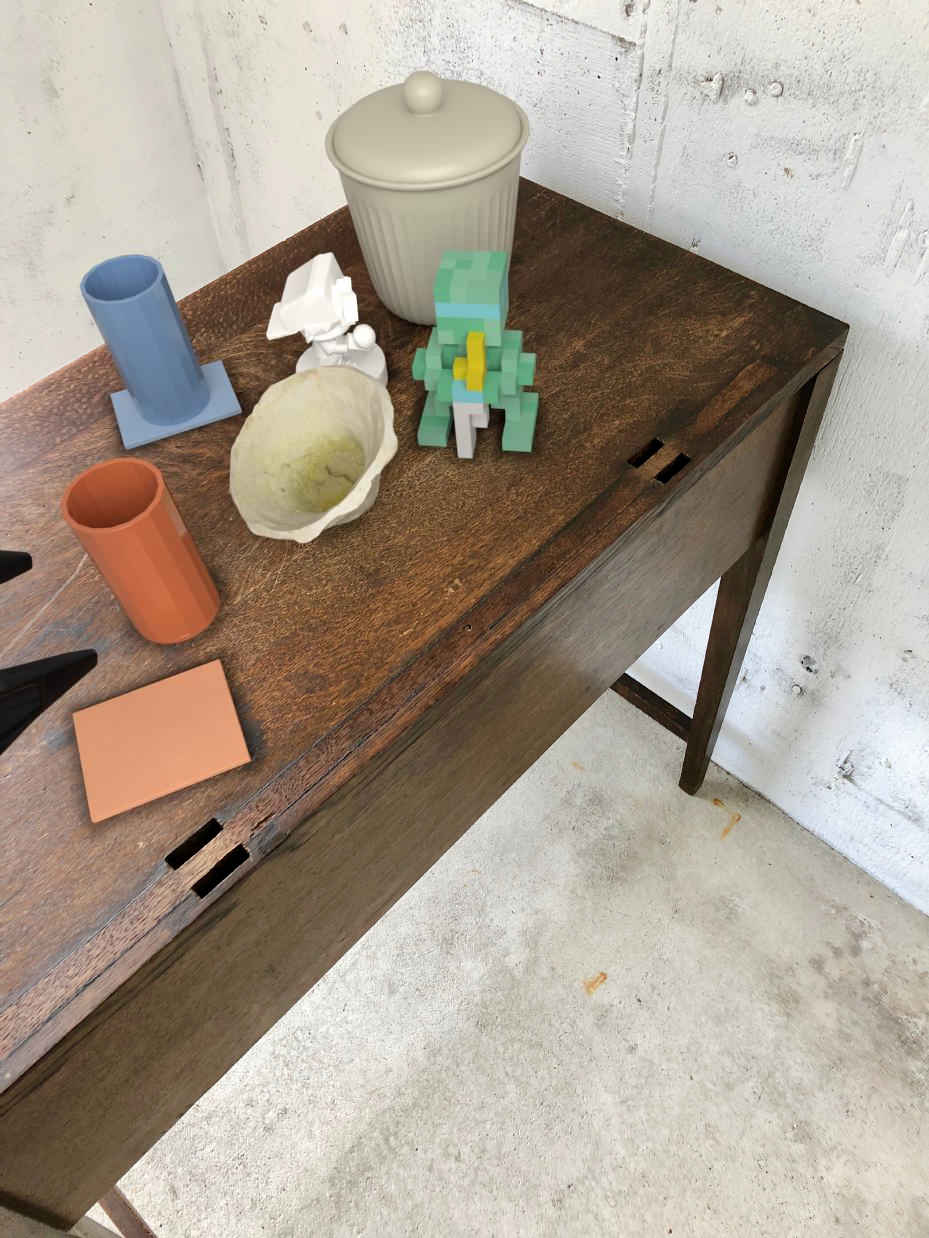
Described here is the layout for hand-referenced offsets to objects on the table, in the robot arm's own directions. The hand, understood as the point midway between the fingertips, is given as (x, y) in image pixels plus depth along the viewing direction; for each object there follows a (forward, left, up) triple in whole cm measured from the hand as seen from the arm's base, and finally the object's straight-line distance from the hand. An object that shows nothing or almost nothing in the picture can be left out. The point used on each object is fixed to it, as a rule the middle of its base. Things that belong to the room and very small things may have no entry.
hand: (62, 606), depth 51 cm
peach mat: (0, -1, -15) cm, 15 cm away
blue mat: (+9, +34, -15) cm, 38 cm away
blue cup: (+9, +34, -14) cm, 38 cm away
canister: (+38, +38, -15) cm, 56 cm away
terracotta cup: (+4, +10, -15) cm, 18 cm away
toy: (+34, +19, -15) cm, 42 cm away
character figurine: (+24, +30, -15) cm, 41 cm away
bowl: (+18, +15, -15) cm, 28 cm away
